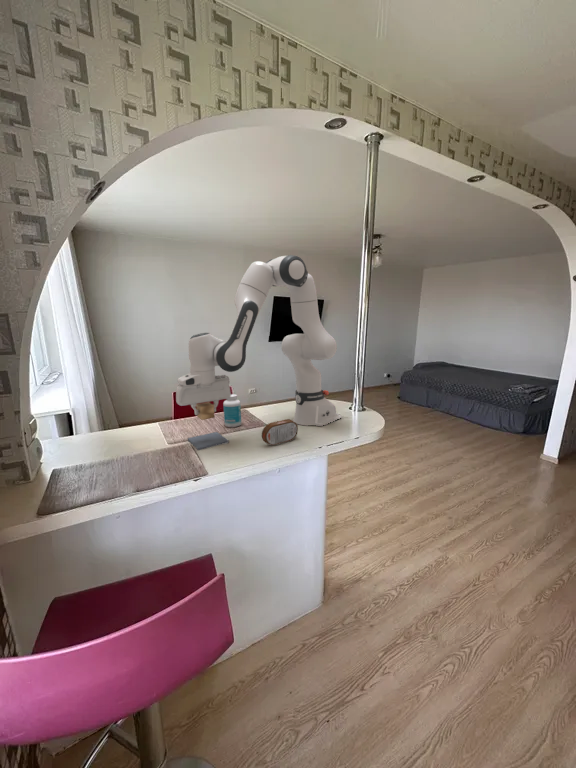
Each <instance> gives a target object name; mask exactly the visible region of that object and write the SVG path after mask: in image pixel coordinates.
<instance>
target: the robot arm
mask: <svg viewBox="0 0 576 768" xmlns="http://www.w3.org/2000/svg"><path fill="white" fill-rule="evenodd" d="M272 287H283V288H284V287H286V288H287V289H288V292H289V295H290V298H289V299H290V306H291V308H290V309H291V317H292V322H293V323H294V324H295V325H296V326H298V327H299V328H301V330H302V331H303V333H292V334H288V335H286V336H284V337H283V339H282V342H281V351H282V353H283V355H285V357H287V359H288V360H289V361H290V364H292V365H291V366H292V367H293V370H294V374H295V375H294V376H295V385H296V387H295V412H294V417H293V419H292V421H294V422H295V423H296V424H297V425H301V426H308V425H316V426H315V427H323V425H324V426H326V425H328V423H329V424H331V423H333V421H334V422H336V421H335V420H337V419H339V420H341V419H342V415H341V414H339V413H337V408H336V405H335V404H334V403H332V401H330V400H329V399H327V398H326V397H325V396H328V395H329V394H330V393H329V390H327V389H326V390H324V389H322V374H321V371H320V370H319V368H316V367H315V366H314V364H313V363H312V360H314V361H326V360H330V359H331V360H332V358H333V357H334V356H335V355H336V352H337V348H338V346H337V341H336V339H335V338H334V337H333V336H332V335H330V333H329V332H328V331H327V330H326V329H325V327H324V326H323V325H324V324H323V323H322V321H321V318H320V314H319V313H320V312H319V305H318V294H317V287H316V283H315V279H314V277H313V275H312V274H310V273H308V269H307V265H306V264H305V261H304V260H303V258H301V257H299V256H298V255H293V254H288V255H282V256H281V255H280V256H278V257H276V258H272V259H269V260H268V261H266V262H264V261H260V260H257V261H256V260H255V261H253V262H252V263H250V265H249V267H247V270H246V271H245V272H244V274H243V276H242V278H241V280H240V282H239V284H238V286H237V290H236V292H235V296H234V305H235V307H236V312H237V313H236V314H237V315H236V316H237V317H236V320H235V323H234V325H233V328H232V330H231V333H230V335H229V337H228V339H227V340H224V339H221V338H219V337H216V336H215V335H212V334H211V333H210V332H202V333H197V334H193V335H192V336H191V337H190V339H189V340H188V359H189V360H188V361H189V362H190V367H189V372H188V373H187V374H184V375H181V377H178V378H177V384H178V385H177V387H176V390H175V401H176V404H177V405H179V406H181V407H182V406H190V407H191V408H192V409H193V410H194V415H195V416H197V415H200V410H198V409H197V406H196V404H201V403H207V402H209V403H210V402H213V405H214V413H216V412H217V407H218V406H219V401H220V400H227V399H228V398H230V396H231V394H232V392H231V387H230V381H231V380H230V377H229V376H228V375H226V374H221V375H216V370H215V367H220V369H221V370H223V371H226V372H228V373H233V372H237V371H239V370H240V369H241V368H242V367H243V366H244V365H245V362H246V359H247V358H246V357H247V353H246V352H247V351H246V350H247V345H248V341H249V339H250V336H251V334H252V331H253V329H254V325H255V323H256V320H257V318H258V315H259V313H260V311H261V310H262V307H263V306H264V304H265V302H266V299H267V297H268V294H269V291H270V289H272ZM337 415H338V416H337ZM340 418H341V419H340ZM337 421H338V420H337ZM330 422H331V423H330Z"/></svg>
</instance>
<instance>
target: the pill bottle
mask: <svg viewBox="0 0 576 768" xmlns="http://www.w3.org/2000/svg"><path fill="white" fill-rule="evenodd" d="M222 405H223V420H224V426H225V427H227V428H237V427H240V426H241V425H242V422H243V421H242V407H241V401H240V400H239V399H238V394H235V393H234V394H233V393H231V396H230V398H228V399H225V400H224V401H223V403H222Z"/></svg>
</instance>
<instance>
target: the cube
mask: <svg viewBox="0 0 576 768" xmlns="http://www.w3.org/2000/svg"><path fill="white" fill-rule="evenodd" d="M196 409H198V410H200V415H196V417H197V418H198V419H200V420H201V421H204V420H211V419H215V418H216V416H215V415H216V414H215V412H214V403H211V402H210V401H209V402H203V403H197V404H196Z"/></svg>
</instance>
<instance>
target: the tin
mask: <svg viewBox="0 0 576 768" xmlns="http://www.w3.org/2000/svg"><path fill="white" fill-rule="evenodd" d="M298 431H299V426H298V424H297V423H295V422H294V421H293V419H290V418H287V419H282V420H277V421H273V422H272V421H271V422H269V423H268V424H266V425H264V428H263V429H262V431H261V438H262V439H261V440H262V441H263V442H264V443H265V444H267V445H268V446H276V445H281V444H283V443H287V442H291V441H293V440H294V439H295V438H296V437H297V435H298Z"/></svg>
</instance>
